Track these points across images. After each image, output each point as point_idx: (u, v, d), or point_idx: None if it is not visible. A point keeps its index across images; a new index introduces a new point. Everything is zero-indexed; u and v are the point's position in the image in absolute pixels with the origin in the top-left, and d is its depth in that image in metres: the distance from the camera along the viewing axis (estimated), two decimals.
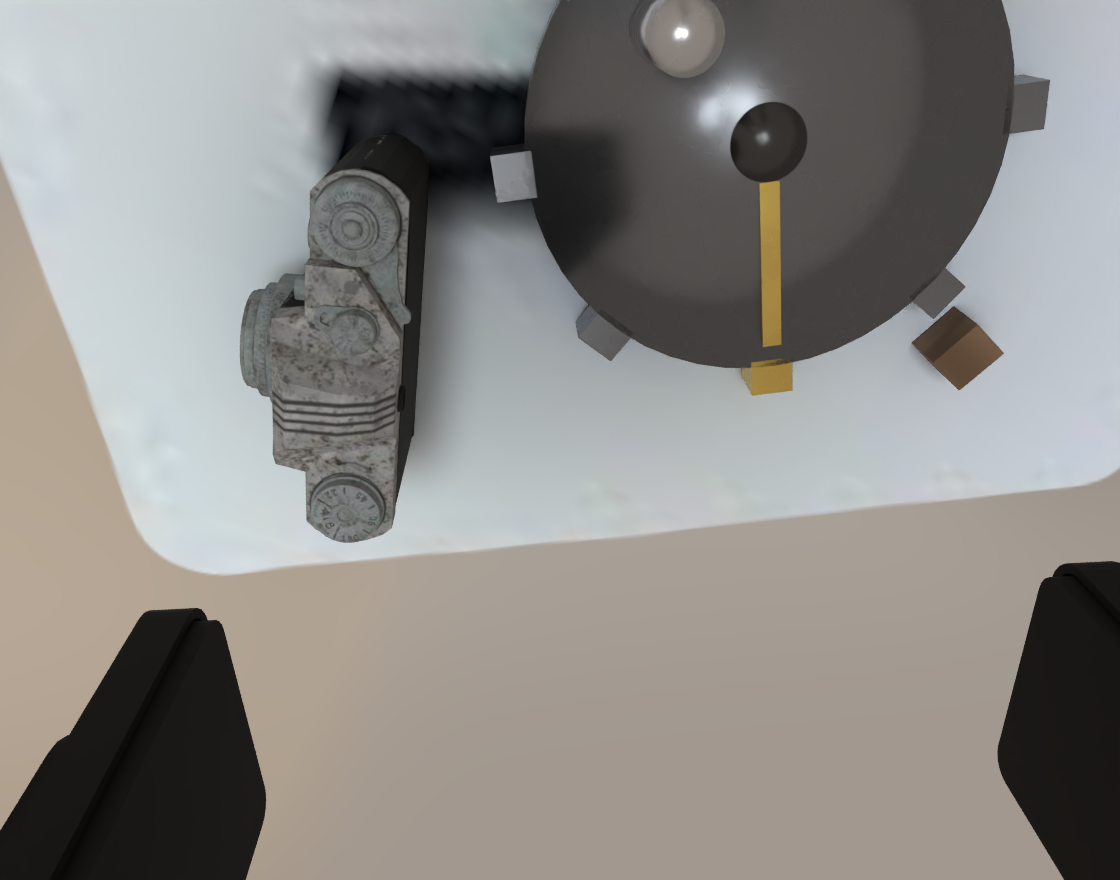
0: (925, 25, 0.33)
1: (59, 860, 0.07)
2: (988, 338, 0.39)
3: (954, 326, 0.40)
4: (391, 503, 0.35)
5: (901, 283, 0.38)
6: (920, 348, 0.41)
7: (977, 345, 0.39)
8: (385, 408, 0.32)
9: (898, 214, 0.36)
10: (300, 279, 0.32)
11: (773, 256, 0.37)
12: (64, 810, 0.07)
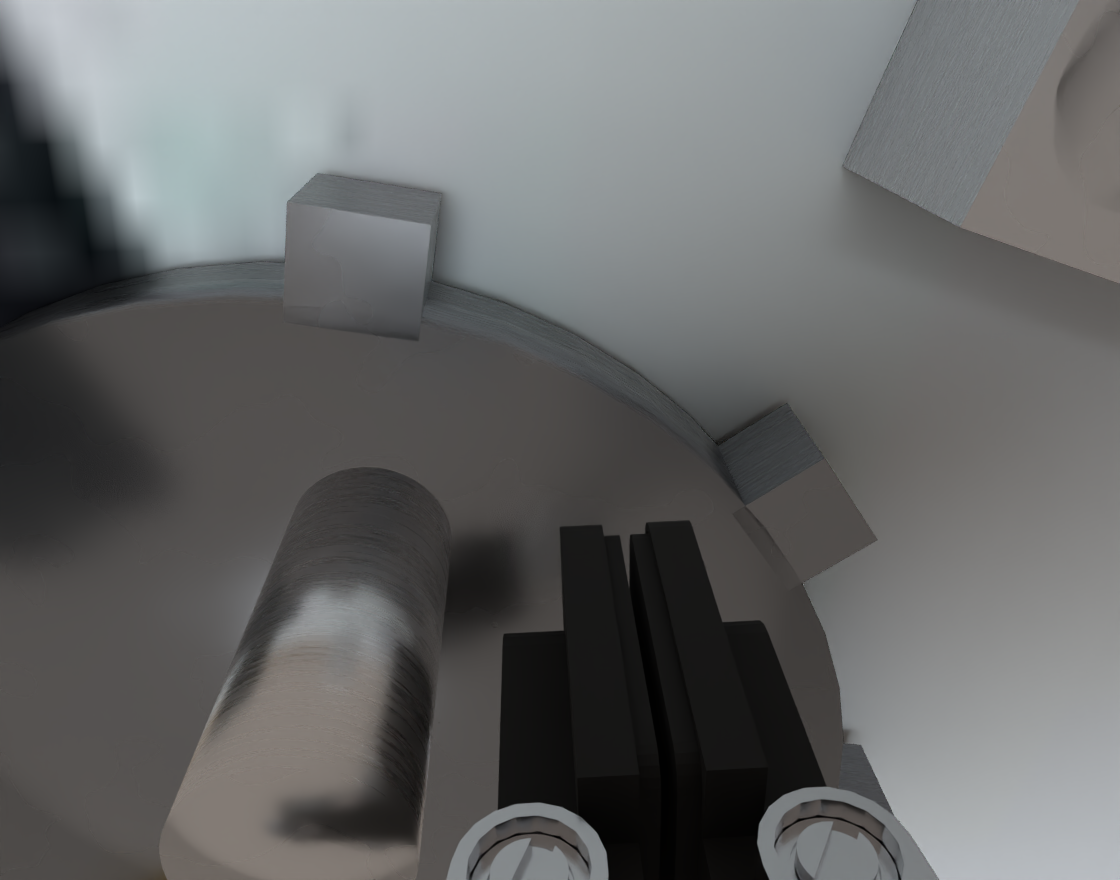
0: None
1: (629, 709, 0.08)
2: None
3: None
4: None
5: None
6: None
7: None
8: None
9: None
10: None
11: None
12: (604, 673, 0.08)
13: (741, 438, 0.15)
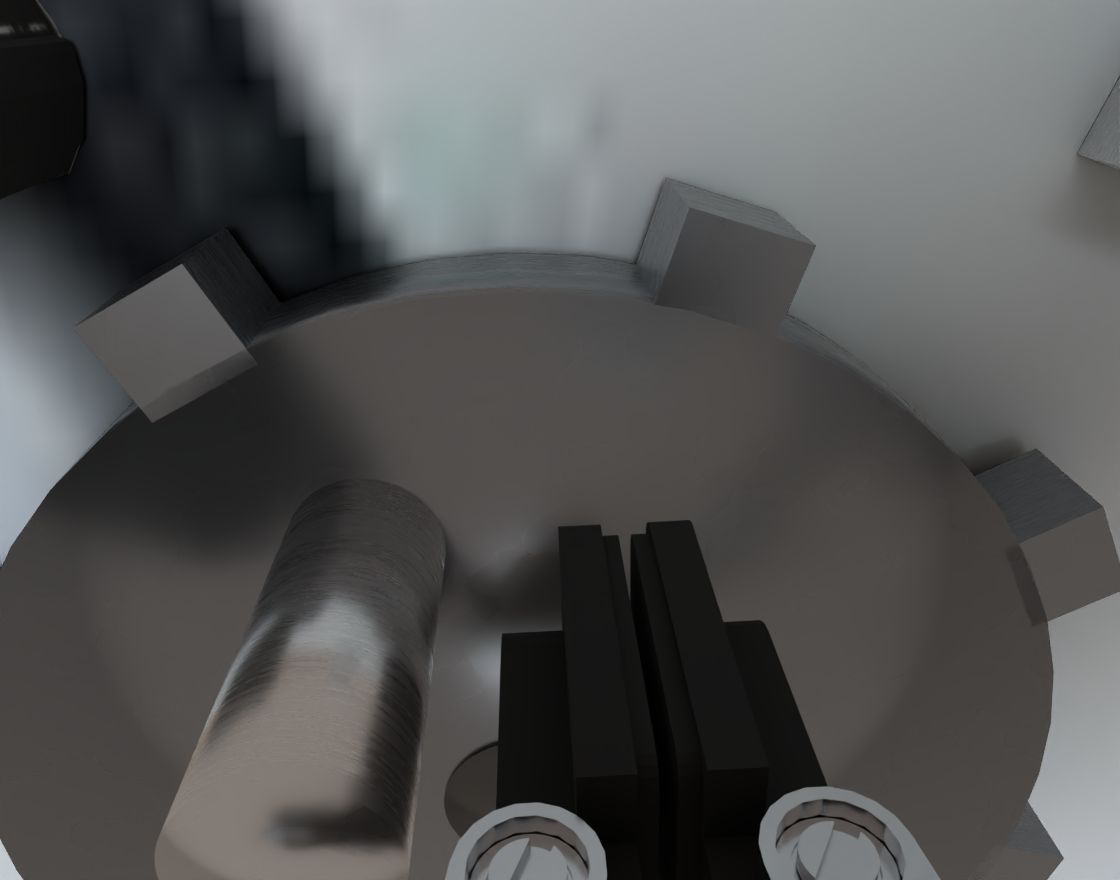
0: (900, 719, 0.16)
1: (627, 709, 0.08)
2: None
3: None
4: None
5: None
6: None
7: None
8: None
9: None
10: None
11: None
12: (603, 673, 0.08)
13: (646, 242, 0.14)
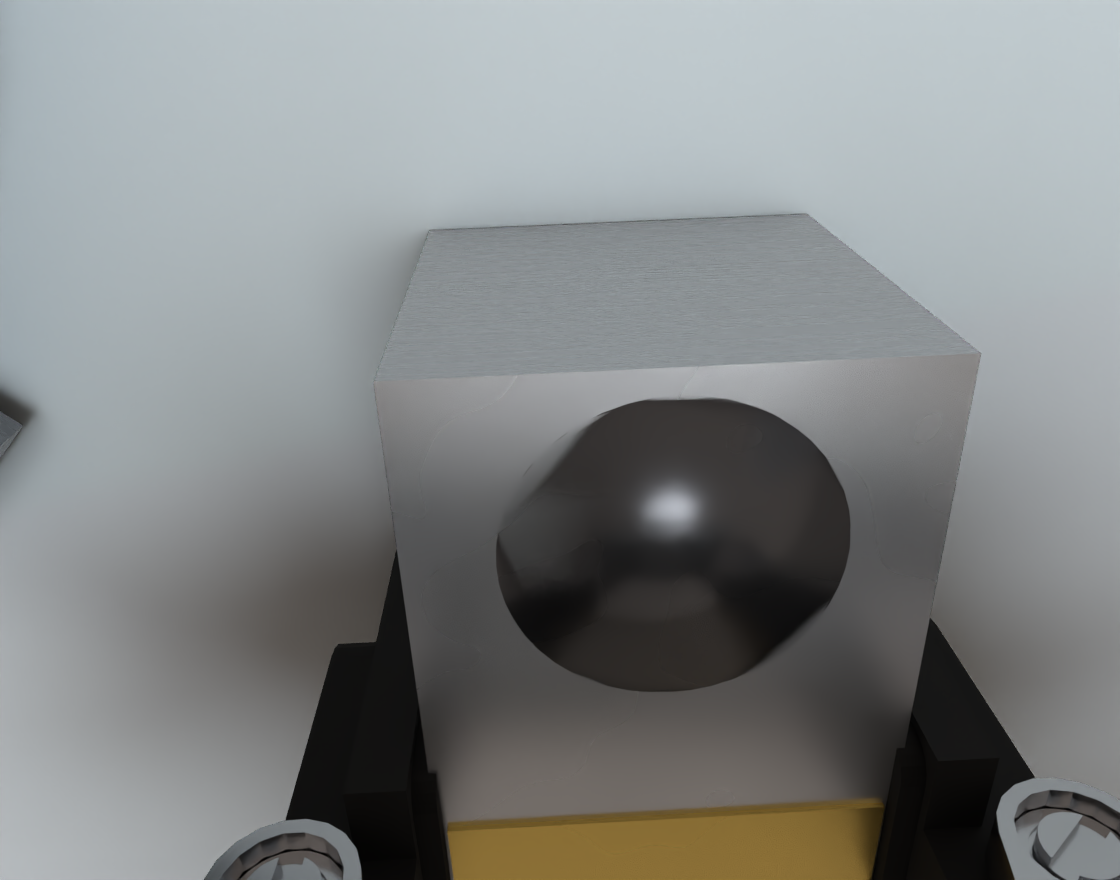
0: None
1: (415, 723, 0.08)
2: None
3: None
4: None
5: None
6: None
7: None
8: None
9: None
10: None
11: None
12: (401, 686, 0.08)
13: None
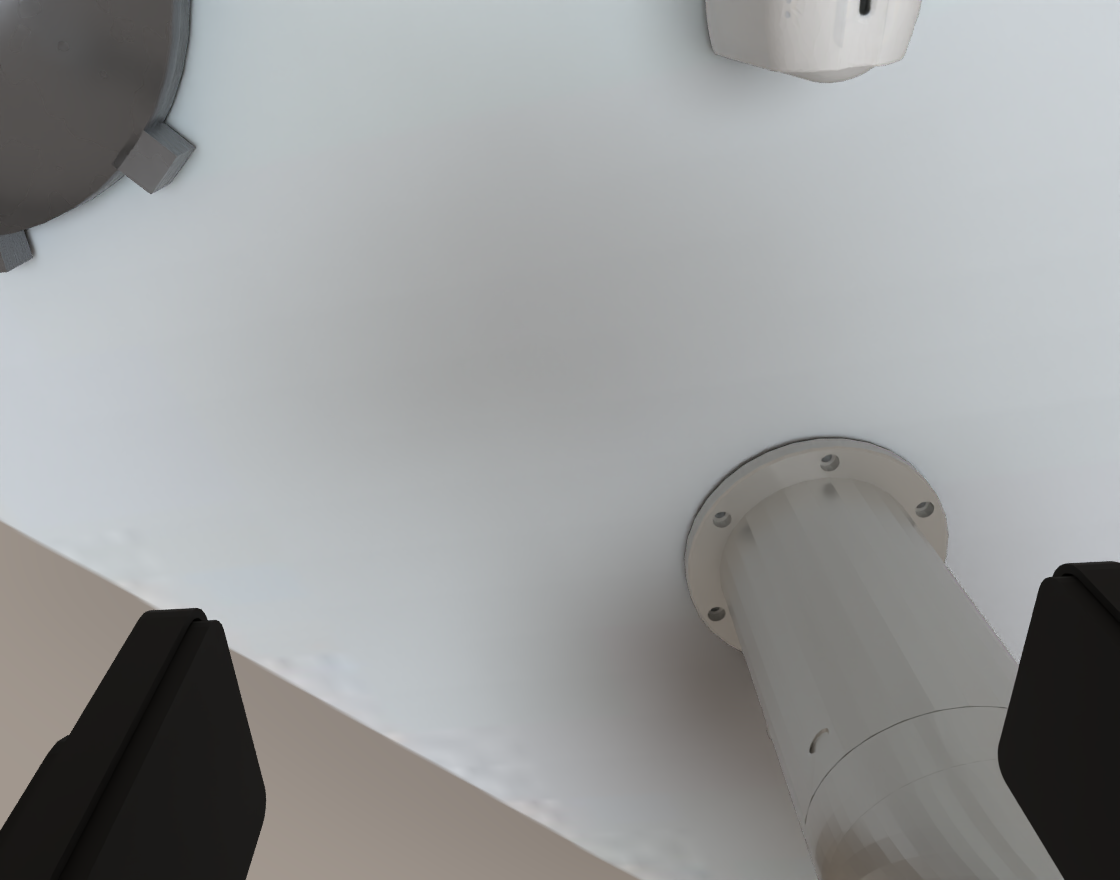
0: (32, 132, 0.32)
1: (60, 861, 0.07)
2: None
3: None
4: None
5: None
6: None
7: None
8: None
9: None
10: None
11: None
12: (65, 810, 0.07)
13: None
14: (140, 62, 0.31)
